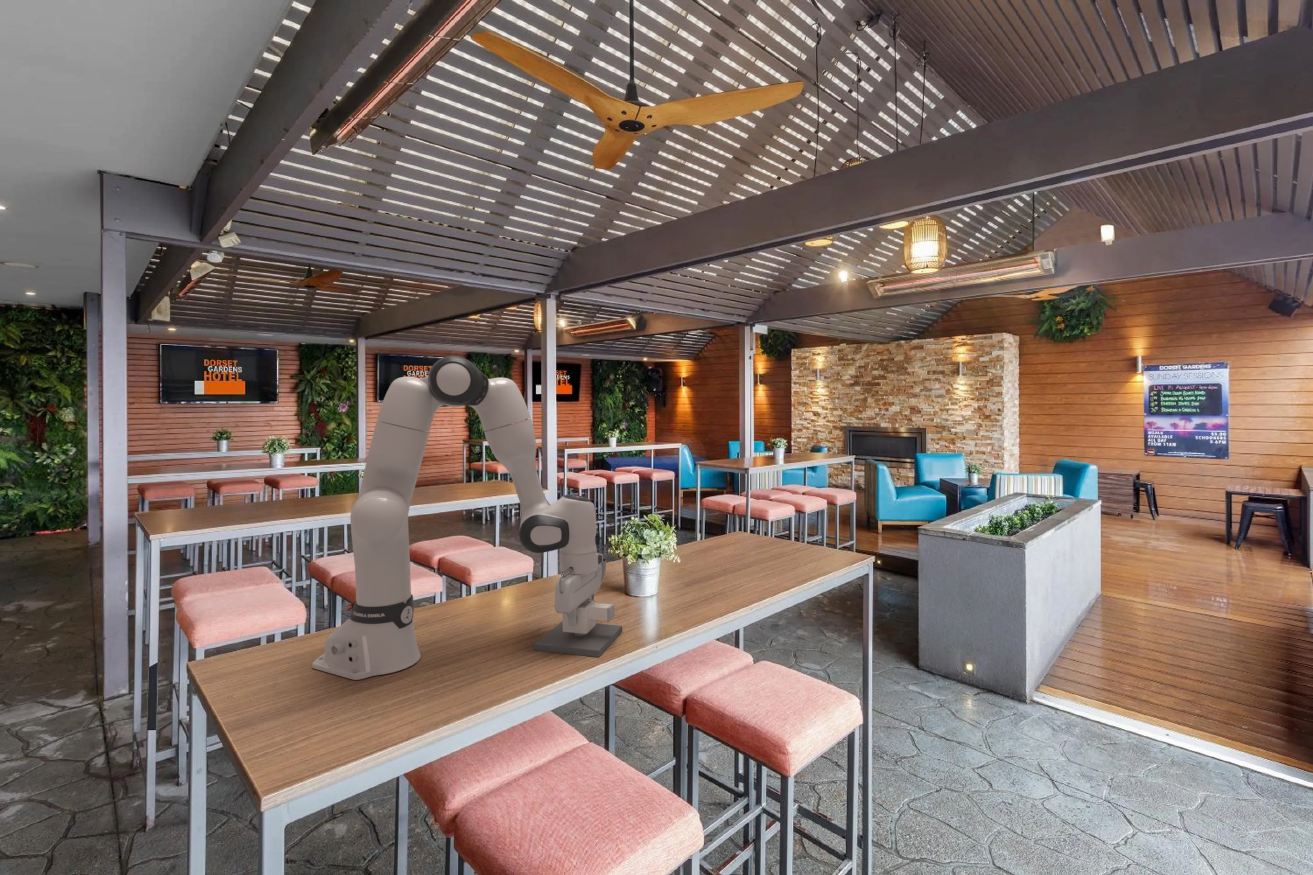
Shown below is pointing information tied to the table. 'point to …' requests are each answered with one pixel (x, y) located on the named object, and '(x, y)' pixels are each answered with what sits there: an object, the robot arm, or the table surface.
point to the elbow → (589, 616)
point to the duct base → (579, 640)
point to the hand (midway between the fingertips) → (579, 619)
